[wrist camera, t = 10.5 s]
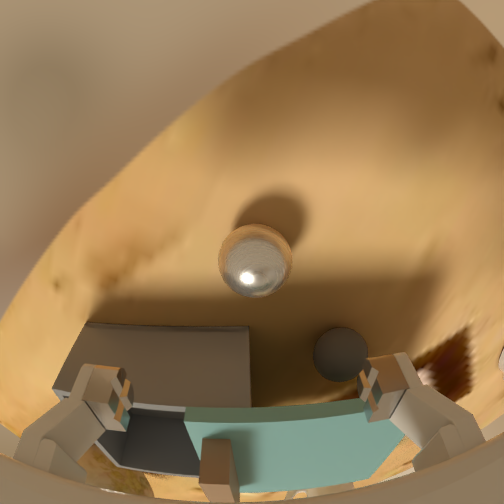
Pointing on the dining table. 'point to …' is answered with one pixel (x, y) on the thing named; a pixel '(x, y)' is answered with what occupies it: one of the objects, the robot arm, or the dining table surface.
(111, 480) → the sugar bowl
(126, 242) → the dining table surface
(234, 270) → the steel ball
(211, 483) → the lid
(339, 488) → the mug
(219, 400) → the bin
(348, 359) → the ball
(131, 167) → the dining table surface
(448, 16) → the dining table surface
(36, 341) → the dining table surface
